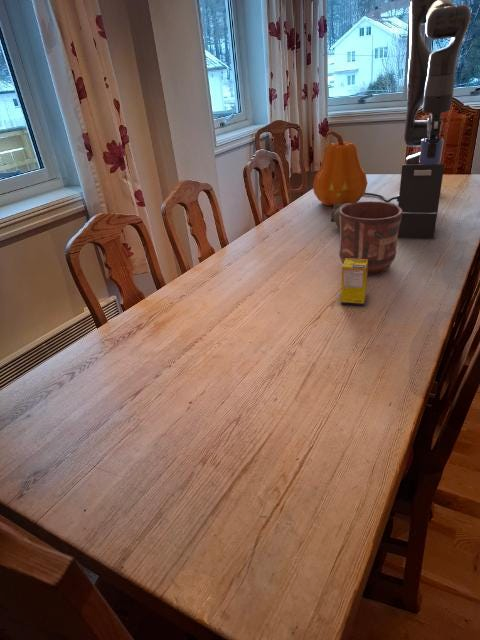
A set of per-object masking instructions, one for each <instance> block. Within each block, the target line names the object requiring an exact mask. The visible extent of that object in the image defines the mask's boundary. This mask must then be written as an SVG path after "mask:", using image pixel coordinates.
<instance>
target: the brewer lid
mask: <svg viewBox="0 0 480 640" xmlns="http://www.w3.org/2000/svg"><path fill="white" fill-rule="evenodd" d="M444 170H445V163H439V164H433V165H424V164H408V165H405V164H401V172H400V173H401V174H400V182H399V183H400V184H399V194H398V196H399V202H397V206H398V207H400V208H401V209H402V212H431V213H437V214H438V213H439V212H438V211H439V205H440V197H441V190H442V184H443V177H444Z"/></svg>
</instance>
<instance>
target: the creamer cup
mask: <svg viewBox="0 0 480 640" xmlns="http://www.w3.org/2000/svg"><path fill="white" fill-rule="evenodd" d="M431 139H436V138H431ZM428 141H429V138H426V139H422V140H421V147H419V148H420V149H419V152H420V157H419V163H420V164H424V165H433V164H441V160H442V154H443V147H444V142H445V138H443V137H441V138H440V137H439V142H438V144H437V147H436V154H435V157H434V158H427V153H428Z"/></svg>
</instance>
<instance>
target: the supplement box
mask: <svg viewBox="0 0 480 640" xmlns="http://www.w3.org/2000/svg"><path fill="white" fill-rule="evenodd" d="M367 269H368V259H350V258H345V261H344V264H343V263H342V267H341V295H340V304H341V305H346V306H347V305H348V306H360V307H361V306H362V307H364V306H365V303H366V302H365V301H366V297H367V285H368V275H367Z"/></svg>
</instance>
